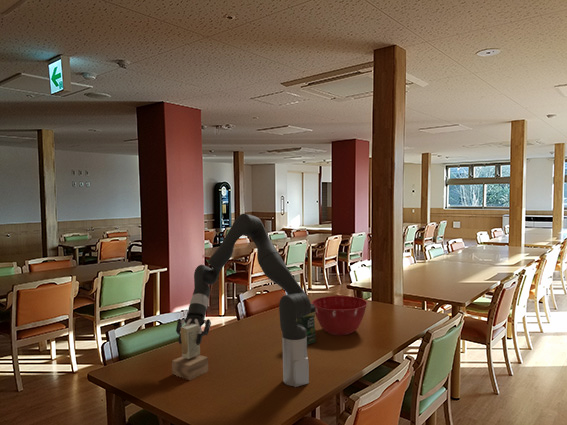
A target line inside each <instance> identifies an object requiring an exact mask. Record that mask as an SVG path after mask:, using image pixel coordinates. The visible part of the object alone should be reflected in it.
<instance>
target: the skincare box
mask: <svg viewBox="0 0 567 425" xmlns="http://www.w3.org/2000/svg"><path fill="white" fill-rule="evenodd" d="M198 331H199V325H197V324H193V323H192V324H189V325H186V326H184V325H182V327H181V344H180V345H181V356H182V357H184V358H187V359H189V358H192V357H194V356H197V355H201V347H200V346H201V345H200V344H201V343H200V344H199V345H197V344H196V341H197V336H198V334H199V332H198Z"/></svg>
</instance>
